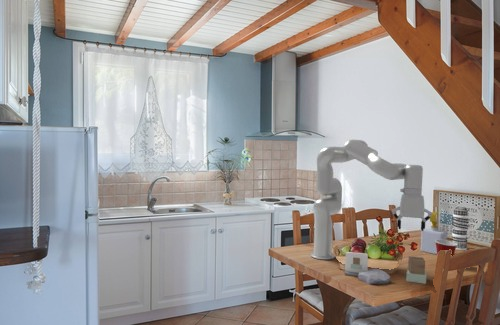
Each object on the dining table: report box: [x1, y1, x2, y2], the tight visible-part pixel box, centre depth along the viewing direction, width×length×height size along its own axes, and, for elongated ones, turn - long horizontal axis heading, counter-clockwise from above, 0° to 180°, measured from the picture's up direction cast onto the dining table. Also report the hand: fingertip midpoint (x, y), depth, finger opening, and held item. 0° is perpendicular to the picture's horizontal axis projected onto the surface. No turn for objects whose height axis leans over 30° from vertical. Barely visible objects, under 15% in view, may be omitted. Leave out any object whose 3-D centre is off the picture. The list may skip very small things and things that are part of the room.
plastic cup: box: [435, 239, 458, 257], centre depth 203 cm, size 11×11×12 cm
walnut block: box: [407, 255, 426, 274], centre depth 178 cm, size 6×6×6 cm
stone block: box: [357, 268, 391, 285], centre depth 175 cm, size 12×5×10 cm
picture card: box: [344, 251, 369, 277], centre depth 184 cm, size 6×10×10 cm, turn 74°
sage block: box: [405, 268, 428, 285], centre depth 178 cm, size 8×8×4 cm
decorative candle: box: [451, 206, 470, 251], centre depth 238 cm, size 9×9×25 cm
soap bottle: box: [420, 211, 448, 256], centre depth 226 cm, size 12×7×23 cm, turn 37°
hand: (410, 229), depth 179 cm, fingers open, 9 cm apart
